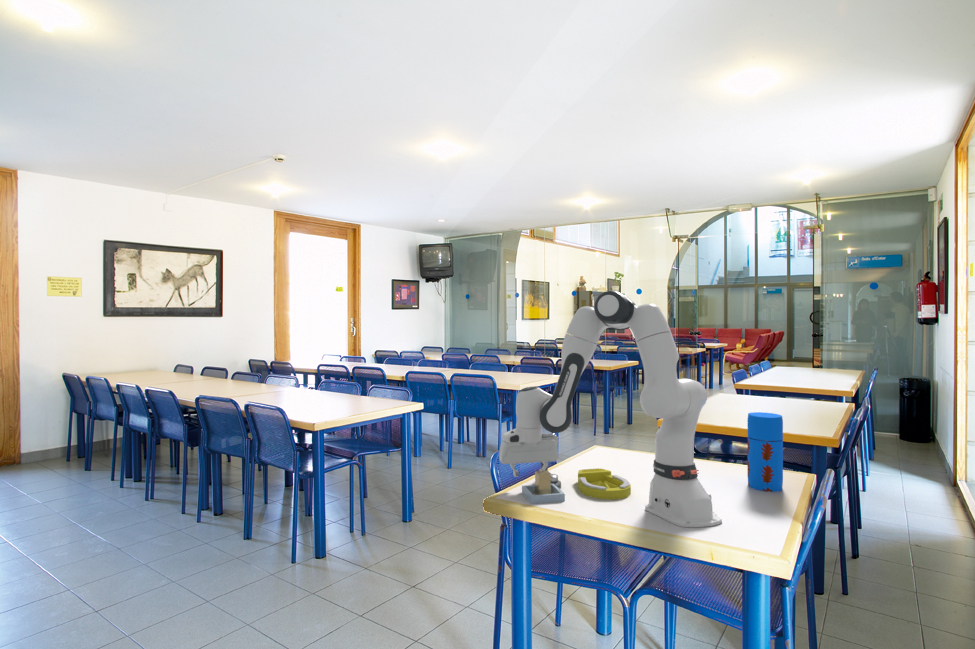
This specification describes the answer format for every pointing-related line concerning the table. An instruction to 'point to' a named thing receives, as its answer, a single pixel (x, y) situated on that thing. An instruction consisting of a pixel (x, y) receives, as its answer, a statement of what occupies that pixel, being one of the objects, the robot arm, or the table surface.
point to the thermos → (765, 451)
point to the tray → (543, 498)
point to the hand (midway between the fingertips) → (529, 475)
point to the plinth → (558, 484)
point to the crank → (553, 476)
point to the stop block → (542, 482)
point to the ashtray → (602, 484)
